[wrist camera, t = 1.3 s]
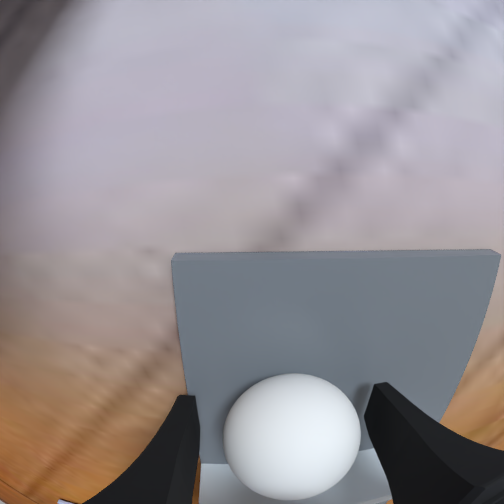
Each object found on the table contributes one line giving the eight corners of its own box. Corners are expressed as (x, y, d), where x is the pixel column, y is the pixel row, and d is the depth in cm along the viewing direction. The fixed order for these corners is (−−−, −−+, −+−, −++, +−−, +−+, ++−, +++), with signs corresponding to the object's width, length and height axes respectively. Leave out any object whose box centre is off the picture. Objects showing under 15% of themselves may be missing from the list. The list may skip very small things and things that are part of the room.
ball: (226, 431, 13) (226, 522, 8) (220, 348, 11) (215, 458, 7) (330, 423, 13) (357, 507, 8) (349, 342, 12) (399, 436, 7)
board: (218, 524, 19) (218, 564, 14) (175, 253, 11) (143, 312, 7) (376, 505, 19) (388, 540, 15) (490, 249, 12) (552, 284, 8)
